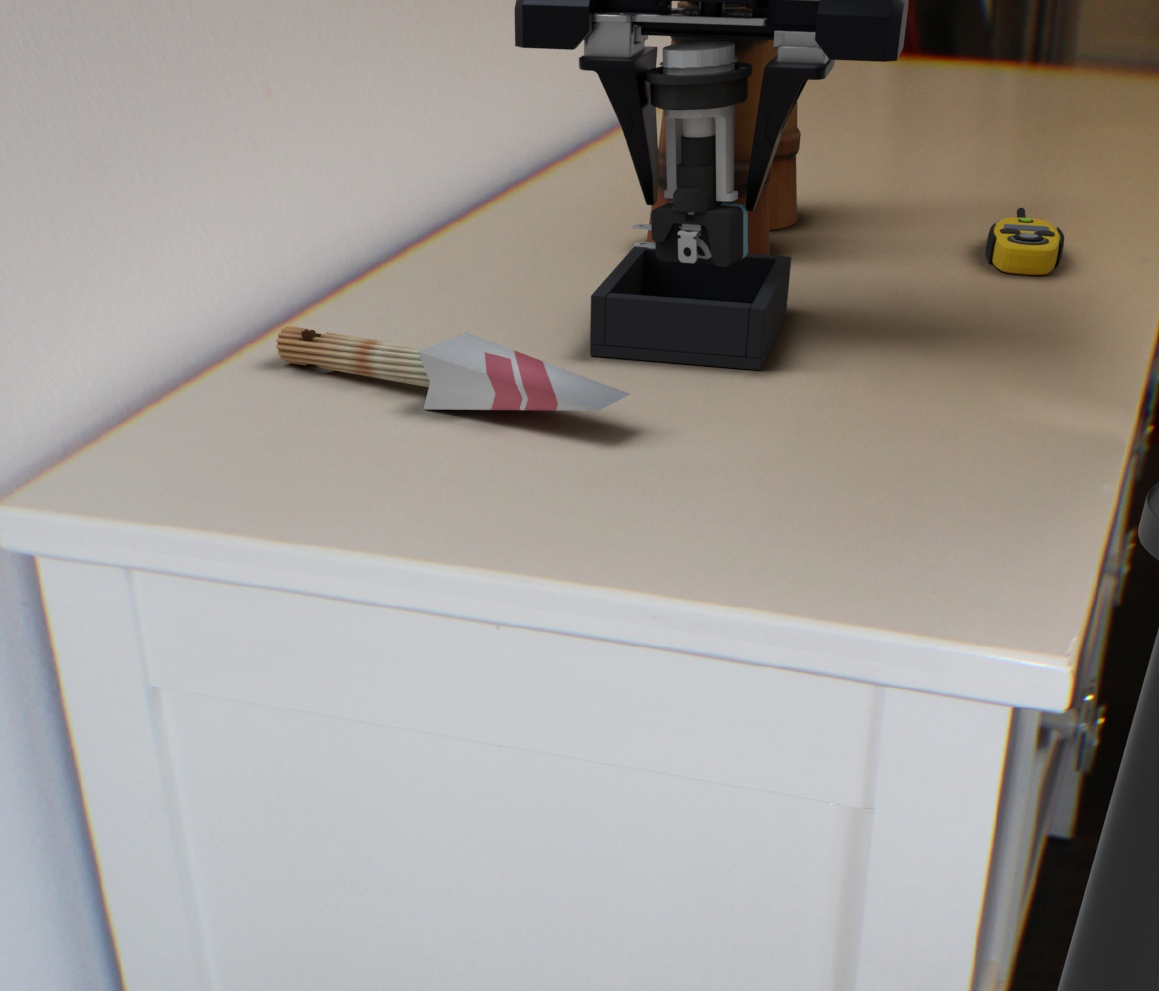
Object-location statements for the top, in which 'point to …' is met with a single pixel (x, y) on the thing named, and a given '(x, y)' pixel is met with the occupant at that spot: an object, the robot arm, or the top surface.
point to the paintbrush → (453, 371)
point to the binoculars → (781, 181)
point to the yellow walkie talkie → (1024, 245)
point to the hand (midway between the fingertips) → (701, 207)
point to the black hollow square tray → (690, 310)
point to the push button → (699, 154)
